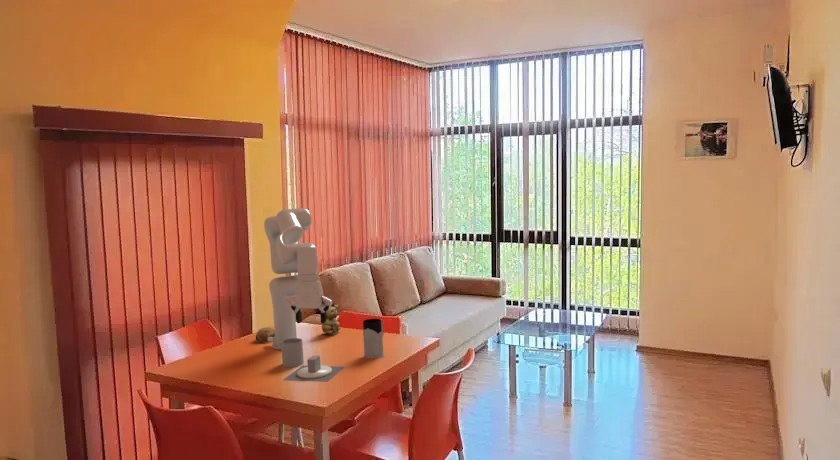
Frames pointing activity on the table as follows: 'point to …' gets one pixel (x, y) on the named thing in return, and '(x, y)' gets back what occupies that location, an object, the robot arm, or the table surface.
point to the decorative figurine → (331, 321)
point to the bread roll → (265, 334)
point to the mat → (324, 379)
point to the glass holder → (373, 338)
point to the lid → (314, 369)
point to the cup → (292, 352)
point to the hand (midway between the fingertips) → (311, 322)
